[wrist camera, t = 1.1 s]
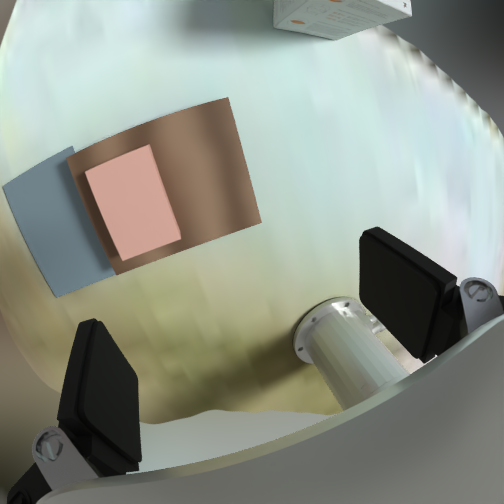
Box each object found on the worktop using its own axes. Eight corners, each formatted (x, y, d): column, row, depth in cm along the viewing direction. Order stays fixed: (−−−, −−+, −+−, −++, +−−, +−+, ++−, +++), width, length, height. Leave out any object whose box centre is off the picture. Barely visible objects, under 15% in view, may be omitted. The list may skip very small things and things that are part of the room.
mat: (72, 145, 24) (71, 146, 24) (123, 270, 31) (123, 271, 31) (4, 185, 23) (2, 186, 22) (57, 296, 30) (56, 297, 29)
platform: (222, 100, 27) (228, 97, 24) (253, 214, 33) (261, 222, 30) (75, 154, 25) (66, 157, 22) (120, 262, 31) (116, 275, 28)
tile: (149, 143, 24) (147, 145, 22) (180, 231, 28) (181, 239, 26) (90, 168, 23) (84, 171, 21) (125, 252, 27) (122, 260, 26)
